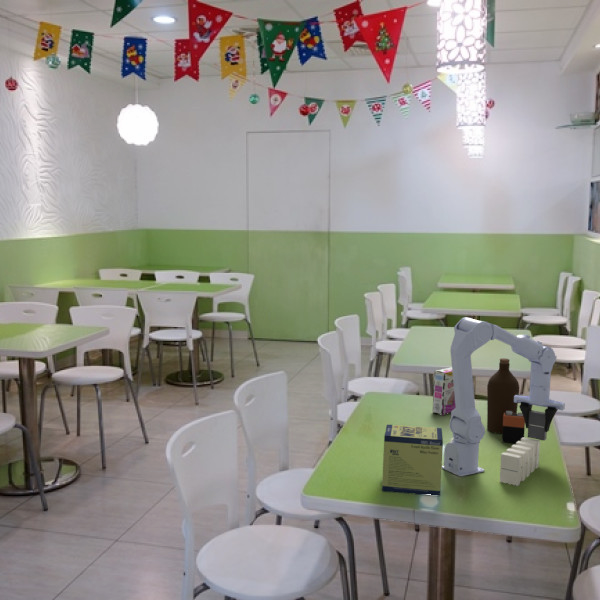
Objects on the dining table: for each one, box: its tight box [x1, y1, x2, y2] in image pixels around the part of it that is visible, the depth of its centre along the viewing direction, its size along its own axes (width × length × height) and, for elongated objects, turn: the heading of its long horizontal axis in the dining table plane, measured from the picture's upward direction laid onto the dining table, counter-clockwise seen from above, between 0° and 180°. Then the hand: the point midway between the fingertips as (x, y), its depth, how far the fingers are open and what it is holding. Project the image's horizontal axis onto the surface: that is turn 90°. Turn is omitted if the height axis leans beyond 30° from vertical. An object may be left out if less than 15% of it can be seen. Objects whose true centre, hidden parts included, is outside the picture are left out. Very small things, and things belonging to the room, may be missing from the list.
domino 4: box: [515, 441, 536, 474], centre depth 200 cm, size 2×5×8 cm, turn 54°
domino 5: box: [527, 409, 548, 441], centre depth 207 cm, size 2×5×8 cm, turn 54°
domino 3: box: [510, 444, 531, 478], centre depth 197 cm, size 2×5×8 cm, turn 54°
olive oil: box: [486, 358, 520, 435], centre depth 237 cm, size 11×11×25 cm
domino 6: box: [521, 436, 541, 469], centre depth 204 cm, size 2×5×8 cm, turn 54°
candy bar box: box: [432, 366, 456, 416], centre depth 259 cm, size 11×5×16 cm, turn 133°
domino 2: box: [505, 447, 526, 482], centre depth 194 cm, size 2×5×8 cm, turn 54°
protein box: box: [381, 424, 444, 496], centre depth 186 cm, size 10×16×16 cm
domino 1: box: [499, 451, 521, 487], centre depth 190 cm, size 2×5×8 cm, turn 54°
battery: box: [501, 411, 526, 445], centre depth 226 cm, size 4×7×10 cm, turn 72°
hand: (537, 429), depth 207 cm, fingers closed on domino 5, 5 cm apart
